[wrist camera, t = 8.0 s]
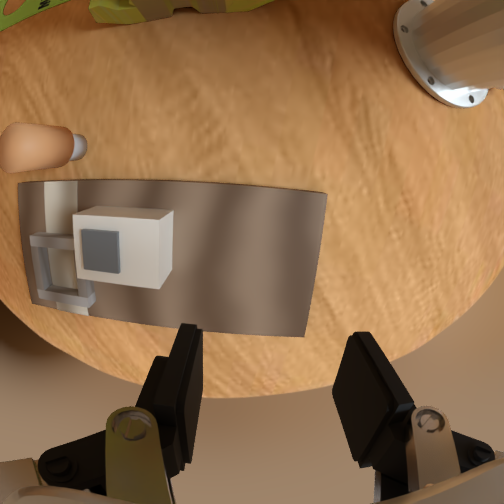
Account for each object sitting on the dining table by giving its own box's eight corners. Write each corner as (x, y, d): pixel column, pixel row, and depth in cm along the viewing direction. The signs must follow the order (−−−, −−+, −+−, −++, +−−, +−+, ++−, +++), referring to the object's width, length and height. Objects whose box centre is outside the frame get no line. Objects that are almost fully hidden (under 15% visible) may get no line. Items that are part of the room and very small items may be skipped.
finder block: (173, 210, 22) (157, 221, 18) (172, 269, 24) (157, 291, 20) (96, 205, 22) (69, 215, 18) (98, 261, 24) (75, 280, 19)
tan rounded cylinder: (93, 127, 21) (30, 119, 13) (90, 165, 22) (27, 171, 14) (64, 130, 21) (-1, 126, 12) (62, 166, 22) (-4, 174, 13)
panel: (323, 192, 23) (332, 196, 21) (301, 330, 27) (307, 346, 25) (25, 181, 22) (8, 185, 20) (37, 298, 26) (24, 309, 23)
